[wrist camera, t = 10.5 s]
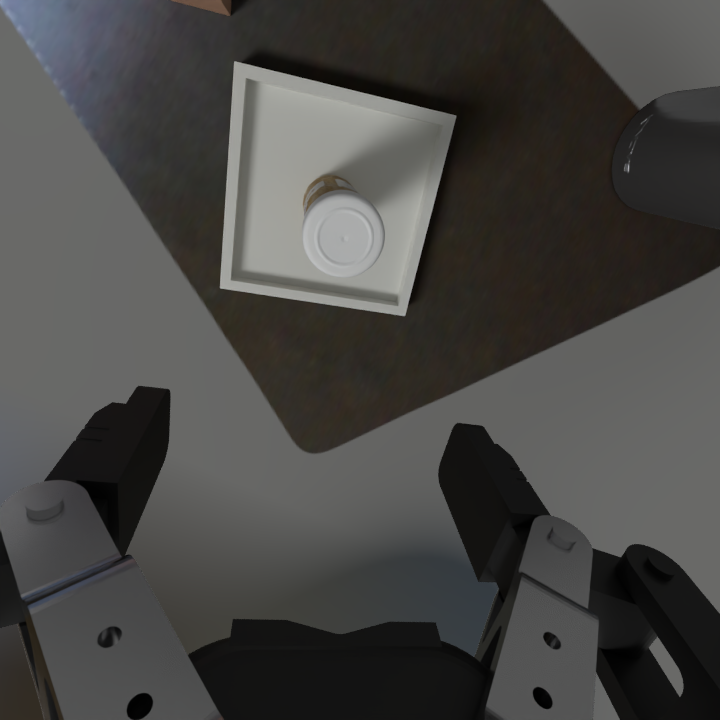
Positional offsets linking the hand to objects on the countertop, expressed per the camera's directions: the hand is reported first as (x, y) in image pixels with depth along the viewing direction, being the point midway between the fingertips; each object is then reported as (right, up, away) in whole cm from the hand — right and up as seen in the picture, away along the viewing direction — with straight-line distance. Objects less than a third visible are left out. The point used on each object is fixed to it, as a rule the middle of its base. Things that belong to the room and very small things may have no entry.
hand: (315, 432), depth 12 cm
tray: (-1, +15, +24) cm, 28 cm away
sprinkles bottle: (-1, +15, +23) cm, 28 cm away
